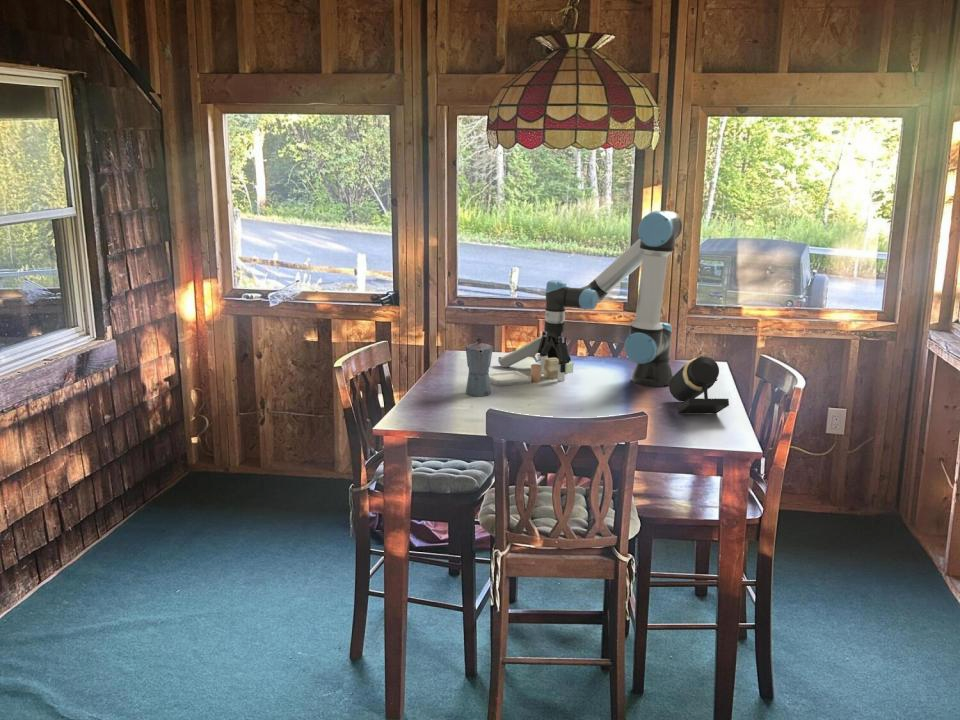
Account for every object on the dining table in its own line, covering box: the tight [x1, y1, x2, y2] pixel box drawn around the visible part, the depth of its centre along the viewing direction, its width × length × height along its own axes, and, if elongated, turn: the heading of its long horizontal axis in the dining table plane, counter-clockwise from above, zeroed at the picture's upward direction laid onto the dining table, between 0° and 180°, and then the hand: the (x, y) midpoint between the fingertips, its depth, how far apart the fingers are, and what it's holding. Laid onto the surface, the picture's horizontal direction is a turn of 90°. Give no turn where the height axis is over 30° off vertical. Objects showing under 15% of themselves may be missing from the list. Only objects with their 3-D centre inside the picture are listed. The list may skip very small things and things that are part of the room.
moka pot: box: [465, 338, 494, 397], centre depth 317 cm, size 10×15×20 cm, turn 9°
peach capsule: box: [530, 363, 542, 383], centre depth 337 cm, size 4×4×6 cm
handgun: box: [497, 335, 572, 368], centre depth 357 cm, size 4×28×15 cm, turn 84°
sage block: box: [565, 361, 574, 375], centre depth 352 cm, size 4×4×4 cm
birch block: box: [543, 358, 559, 380], centre depth 343 cm, size 5×5×7 cm
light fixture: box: [668, 355, 730, 414], centre depth 302 cm, size 13×18×26 cm
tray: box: [488, 370, 532, 387], centre depth 337 cm, size 12×14×2 cm
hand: (552, 376), depth 344 cm, fingers open, 12 cm apart
